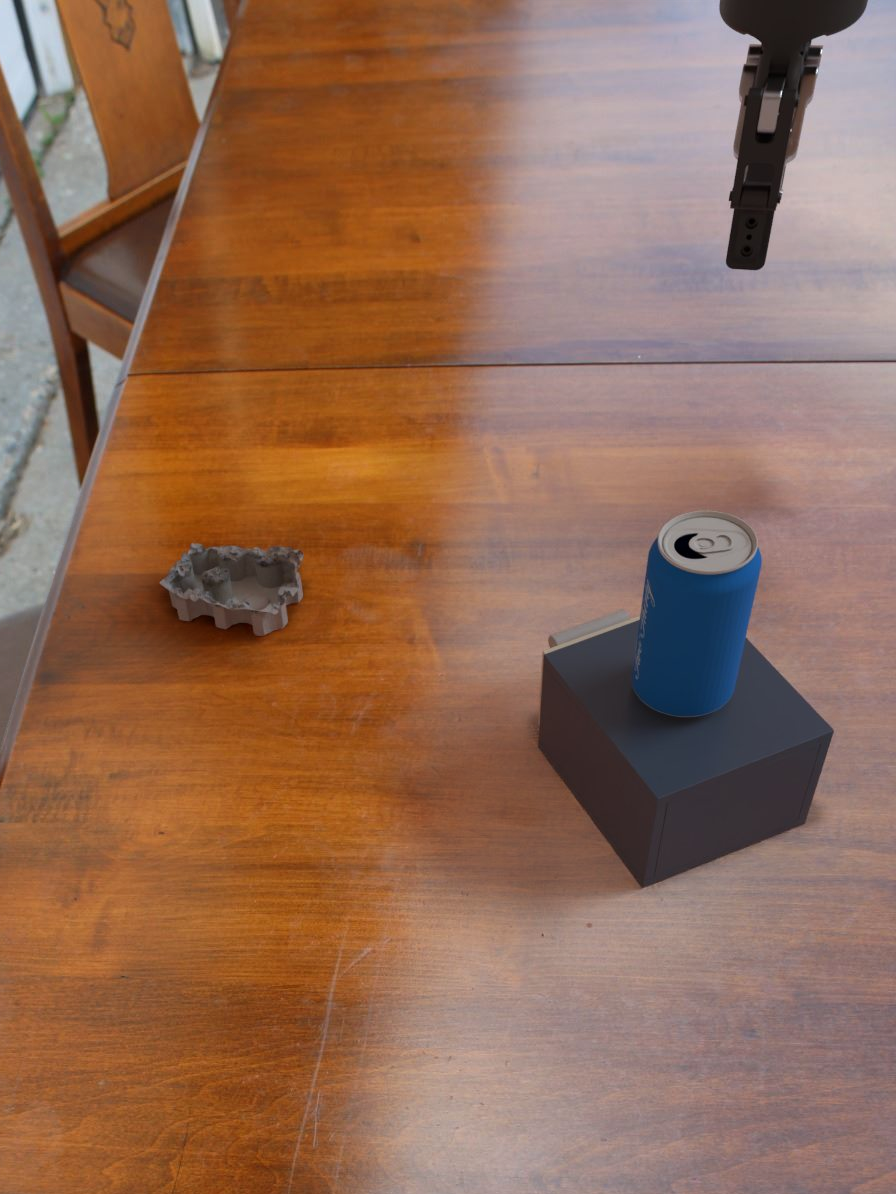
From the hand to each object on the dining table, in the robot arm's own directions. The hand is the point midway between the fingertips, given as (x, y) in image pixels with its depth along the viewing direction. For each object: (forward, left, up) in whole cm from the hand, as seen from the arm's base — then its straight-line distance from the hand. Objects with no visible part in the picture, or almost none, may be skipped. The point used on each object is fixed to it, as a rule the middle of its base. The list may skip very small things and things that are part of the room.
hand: (753, 230), depth 80 cm
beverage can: (+15, +10, -21) cm, 28 cm away
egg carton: (+23, -28, -30) cm, 47 cm away
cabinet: (+15, +10, -30) cm, 35 cm away
